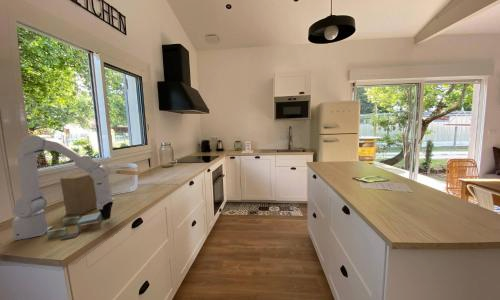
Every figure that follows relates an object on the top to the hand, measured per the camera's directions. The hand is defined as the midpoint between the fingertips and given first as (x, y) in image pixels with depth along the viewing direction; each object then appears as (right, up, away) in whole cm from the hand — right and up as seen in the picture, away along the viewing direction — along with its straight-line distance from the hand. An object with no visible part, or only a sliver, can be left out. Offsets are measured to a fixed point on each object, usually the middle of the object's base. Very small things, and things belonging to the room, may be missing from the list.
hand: (107, 218), depth 95 cm
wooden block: (-25, -1, +16) cm, 30 cm away
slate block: (-6, -3, -2) cm, 7 cm away
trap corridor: (-9, -3, -3) cm, 10 cm away
